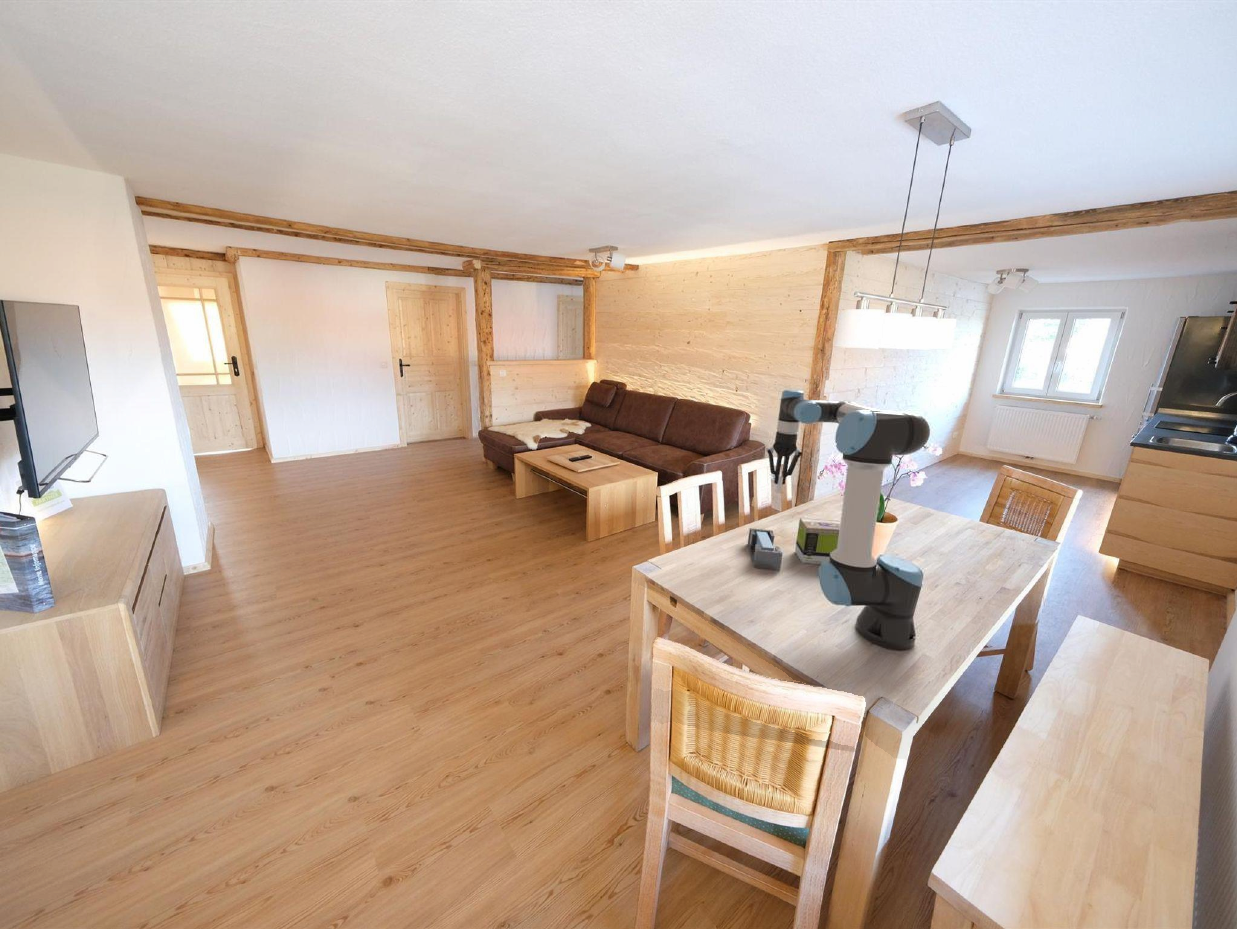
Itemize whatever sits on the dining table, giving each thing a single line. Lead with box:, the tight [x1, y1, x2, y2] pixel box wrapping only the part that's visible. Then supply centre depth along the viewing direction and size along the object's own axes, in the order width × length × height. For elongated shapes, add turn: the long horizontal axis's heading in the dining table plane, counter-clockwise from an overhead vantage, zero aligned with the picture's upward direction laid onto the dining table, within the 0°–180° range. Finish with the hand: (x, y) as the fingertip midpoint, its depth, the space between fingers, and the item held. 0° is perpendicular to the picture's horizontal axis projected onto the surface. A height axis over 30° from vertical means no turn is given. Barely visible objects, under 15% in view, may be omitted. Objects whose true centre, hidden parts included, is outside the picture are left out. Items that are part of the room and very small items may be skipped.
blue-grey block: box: [755, 531, 775, 551], centre depth 179 cm, size 14×4×6 cm, turn 174°
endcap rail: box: [747, 527, 783, 572], centre depth 179 cm, size 20×9×7 cm, turn 172°
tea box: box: [794, 517, 840, 565], centre depth 178 cm, size 15×10×15 cm
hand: (778, 491), depth 179 cm, fingers closed
